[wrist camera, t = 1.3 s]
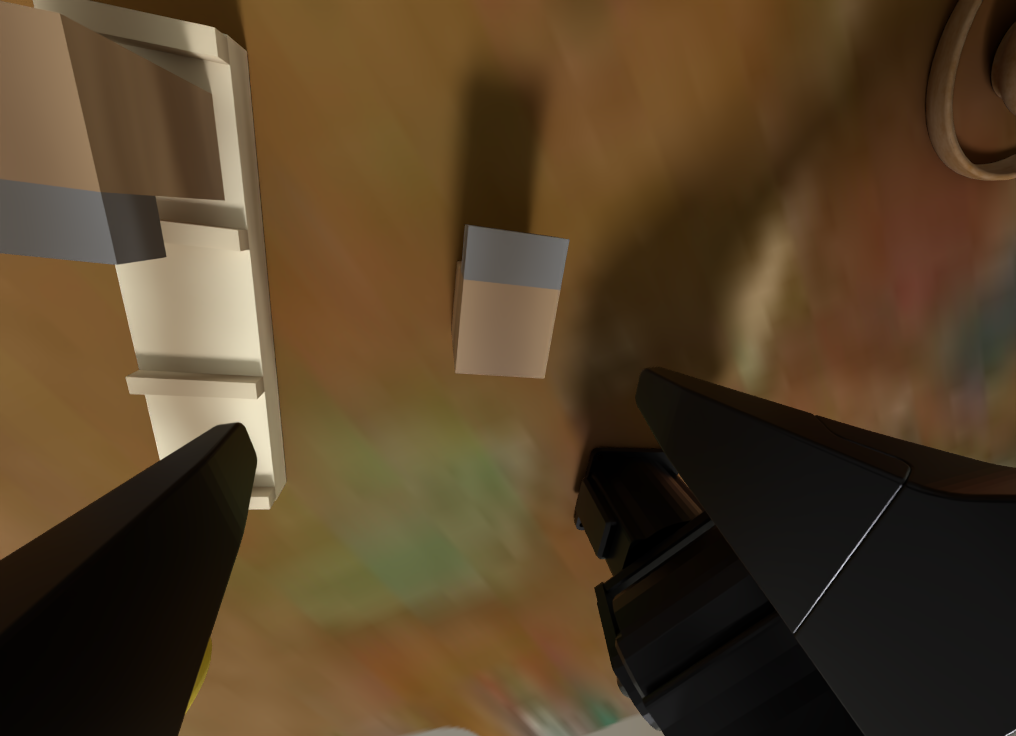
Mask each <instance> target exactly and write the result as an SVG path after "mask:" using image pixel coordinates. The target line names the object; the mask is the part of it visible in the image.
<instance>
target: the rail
mask: <svg viewBox="0 0 1016 736" xmlns="http://www.w3.org/2000/svg"><path fill="white" fill-rule="evenodd" d="M33 3H34V7H35V8H32V7H27V6H22V5H17V4H13V3H8V2H3V1H0V253H4V254H14V255H24V256H34V257H44V258H54V259H64V260H74V261H84V262H94V263H104V264H114V265H115V267H116V271H117V276H118V280H119V284H120V289H121V293H122V297H123V302H124V306H125V310H126V315H127V319H128V323H129V328H130V332H131V336H132V341H133V345H134V349H135V354H136V358H137V362H138V367H139V370H138V371H136V372H134V373H132V374H130V375H128V376H127V377H126V381H127V385H128V389H129V393H130V394H145V397H146V401H147V406H148V410H149V414H150V419H151V423H152V427H153V432H154V436H155V440H156V445H157V449H158V453H159V458H160V460H161V459H163V458H165V457H166V456H168V455H169V454H171V453H173V452H174V451H176V450H177V449H179V448H181V447H182V446H184V445H185V444H187V443H189V442H190V441H192V440H193V439H195V438H197V437H198V436H200V435H201V434H203V433H205V432H206V431H208V430H209V429H211V428H213V427H214V426H216V425H219V424H227V423H234V422H240V423H242V424H243V425H244V426H245V428H246V430H247V432H248V434H249V437H250V439H251V442H252V444H253V447H254V449H255V452H256V455H257V468H256V473H255V478H254V484H253V489H252V494H251V499H250V504H249V509H270V508H271V506H272V505H273V503H274V501H275V500H276V499H277V498H278V496H279V494H280V493H281V491H282V489H283V487H284V486H285V484H286V471H285V460H284V449H283V438H282V428H281V417H280V406H279V395H278V384H277V373H276V362H275V352H274V341H273V330H272V319H271V308H270V297H269V286H268V275H267V265H266V254H265V243H264V232H263V221H262V210H261V199H260V189H259V178H258V167H257V156H256V145H255V134H254V123H253V112H252V102H251V91H250V80H249V69H248V58H247V51H246V50H245V49H243V48H242V47H241V46H240V45H239V44H238V43H236V42H235V41H234V40H233V39H232V38H230V37H229V36H228V35H227V34H223V33H221V32H219V31H218V30H217V29H216V28H215V27H210V26H206V25H201V24H196V23H192V22H187V21H182V20H178V19H173V18H169V17H164V16H159V15H155V14H150V13H145V12H141V11H136V10H131V9H127V8H122V7H118V6H113V5H108V4H104V3H99V2H94V1H90V0H33Z"/></svg>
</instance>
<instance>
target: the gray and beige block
mask: <svg viewBox="0 0 1016 736" xmlns="http://www.w3.org/2000/svg"><path fill="white" fill-rule="evenodd" d="M568 245H569V239H563V238H558V237H552V236H545V235H538V234H531V233H523V232H516V231H509V230H502V229H495V228H488V227H481V226H473V225H466V224H465V231H464V243H463V254H462V261H457V268H456V280H455V292H454V304H453V316H452V328H451V331H452V342H453V353H454V364H455V373H462V374H479V375H495V376H512V377H529V378H544V377H545V371H546V366H547V360H548V355H549V349H550V344H551V338H552V333H553V327H554V322H555V316H556V311H557V305H558V300H559V294H560V289H561V283H562V278H563V272H564V267H565V261H566V256H567V250H568Z"/></svg>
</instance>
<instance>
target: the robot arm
mask: <svg viewBox="0 0 1016 736" xmlns="http://www.w3.org/2000/svg"><path fill="white" fill-rule="evenodd" d="M635 398H636V403H637V406H638V408H639V410H640V411H641V413H642V415H643V417H644V418H645V420H646V422H647V424H648V425H649V427H650V429H651V431H652V432H653V434H654V436H655V438H656V440H657V441H658V443H659V445H660V446H661V448H662V449H643V448H596V449H594V450H593V451H592V452H591V455H590V459H589V463H588V467H587V471H586V475H585V477H584V479H583V480H582V483H581V487H580V491H579V495H578V499H577V503H576V507H575V510H576V516H575V520H574V523H575V525H576V527H577V529H579V530H585V532H586V534H587V536H588V538H589V541H590V543H591V545H592V547H593V549H594V552H595V554H596V555H597V557H598V558H599V559H605V560H606V562H607V564H608V566H609V569H610V571H611V573H612V575H613V577H612V578H610V579H609V580H607V581H606V582H605V583H603V582H601V583H600V584H599V585H597V586H596V587H594V588H595V593H596V597H597V601H598V602H597V605H598V609H599V614H600V618H601V622H602V627H603V631H604V635H605V639H606V644H607V648H608V652H609V656H610V661H611V665H612V668H613V671H614V673H615V675H616V676H617V684H618V686H619V689H620V690H621V692H622V693H623V695H625V696H626V697H628V698H630V699H631V700H632V702H633V703H634V705H635V707H636V708H637V709H638V711H639V712H640V714H641V715H642V716H643V718H644V719H645V720H646V721H647V722H648V723H649V724H650V725H651V726H652V727H653V728H655V729H656V730H659V731H662V732H663V734H664V735H665V736H1016V468H1013V467H1007V466H1001V465H996V464H991V463H987V462H983V461H979V460H975V459H972V458H968V457H964V456H960V455H957V454H953V453H949V452H945V451H942V450H938V449H934V448H931V447H927V446H923V445H919V444H916V443H912V442H908V441H904V440H901V439H897V438H894V437H890V436H886V435H883V434H879V433H876V432H872V431H868V430H865V429H861V428H858V427H855V426H851V425H848V424H845V423H841V422H838V421H835V420H831V419H828V418H825V417H821V416H818V415H815V416H814V415H813V414H811V413H808V412H805V411H802V410H798V409H795V408H792V407H789V406H785V405H782V404H779V403H776V402H772V401H769V400H766V399H763V398H759V397H756V396H753V395H750V394H746V393H743V392H740V391H736V390H733V389H730V388H727V387H723V386H720V385H717V384H714V383H710V382H707V381H704V380H701V379H697V378H694V377H691V376H688V375H684V374H681V373H678V372H675V371H671V370H668V369H665V368H662V367H651V368H645V369H643V370H642V371H641V373H640V377H639V382H638V386H637V391H636V396H635ZM600 454H601V456H600V457H597V456H598V455H600ZM256 468H257V455H256V452H255V449H254V447H253V444H252V442H251V439H250V437H249V434H248V432H247V430H246V428H245V426H244V425H243V424H242V423H240V422H234V423H227V424H219V425H216V426H214V427H213V428H211V429H209V430H208V431H206V432H205V433H203V434H201V435H200V436H198V437H197V438H195V439H193V440H192V441H190V442H189V443H187V444H185V445H184V446H182V447H181V448H179V449H177V450H176V451H174V452H173V453H171V454H169V455H168V456H166V457H165V458H163V459H161V460H160V461H158V462H157V463H155V464H153V465H152V466H150V467H149V468H147V469H145V470H144V471H142V472H141V473H139V474H137V475H136V476H134V477H133V478H131V479H129V480H128V481H126V482H125V483H123V484H121V485H120V486H118V487H117V488H115V489H113V490H112V491H110V492H109V493H107V494H106V495H104V496H102V497H101V498H99V499H98V500H96V501H94V502H93V503H91V504H90V505H88V506H86V507H85V508H83V509H82V510H80V511H78V512H77V513H75V514H74V515H72V516H70V517H69V518H67V519H66V520H64V521H62V522H61V523H59V524H58V525H56V526H54V527H53V528H51V529H50V530H48V531H46V532H45V533H43V534H42V535H40V536H38V537H37V538H35V539H34V540H32V541H30V542H29V543H27V544H26V545H24V546H22V547H21V548H19V549H18V550H16V551H14V552H13V553H11V554H10V555H8V556H6V557H5V558H3V559H2V560H0V736H178V734H179V731H180V728H181V725H182V722H183V719H184V716H185V713H186V710H187V706H188V703H189V700H190V697H191V694H192V691H193V688H194V685H195V682H196V679H197V676H198V673H199V670H200V667H201V664H202V660H203V657H204V654H205V651H206V648H207V645H208V642H209V639H210V636H211V633H212V630H213V627H214V624H215V621H216V618H217V615H218V611H219V608H220V605H221V602H222V599H223V596H224V593H225V590H226V587H227V584H228V581H229V578H230V575H231V572H232V569H233V565H234V562H235V559H236V556H237V553H238V550H239V547H240V544H241V540H242V537H243V534H244V529H245V525H246V520H247V515H248V510H249V504H250V499H251V494H252V489H253V484H254V478H255V473H256ZM678 473H679V474H680V476H681V477H682V479H683V480H684V482H685V483H686V484H687V485H686V484H685V483H684V482H683V481H682V480H681V479H680V478H679V477H678V476H677V475H678ZM687 486H688V487H689V488H688V487H687Z"/></svg>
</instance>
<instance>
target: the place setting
mask: <svg viewBox="0 0 1016 736" xmlns="http://www.w3.org/2000/svg"><path fill="white" fill-rule="evenodd" d="M982 1H983V0H959V1H958V3H957V4H956V6H955V8H954V10H953V12H952V14H951V16H950V18H949V20H948V22H947V24H946V26H945V28H944V31H943V33H942V36H941V38H940V41H939V43H938V46H937V49H936V52H935V55H934V59H933V62H932V66H931V70H930V75H929V79H928V86H927V93H926V122H927V129H928V133H929V138H930V140H931V143H932V146H933V148H934V150H935V152H936V153H937V155H938V157H939V158H940V159H941V160H942V161H943V162H944V164H945V165H946V166H947V167H949V168H950V169H952V170H953V171H955V172H956V173H958V174H960V175H963V176H965V177H968V178H972V179H978V180H1008V179H1013V178H1016V154H1015V155H1013V156H1011V157H1008V158H1006V159H1004V160H1001V161H998V162H995V163H990V164H973V163H971V161H970V160H969V159H968V158H967V157H966V156H965V155H964V153H963V151H962V149H961V147H960V146H959V143H958V140H957V137H956V134H955V129H954V123H953V110H952V102H953V88H954V82H955V76H956V70H957V66H958V62H959V58H960V55H961V51H962V48H963V45H964V42H965V39H966V36H967V33H968V31H969V29H970V26H971V24H972V22H973V19H974V17H975V15H976V12H977V10H978V9H979V7H980V5H981V3H982ZM991 82H992V87H993V89H994V92H995V93H996V94H997V95H998V96H999V97H1000V98H1002V100H1003V102H1004V104H1005V105H1006V107H1007V108H1008V109H1009V111H1011V112H1012V113H1013V114H1014V115H1015V116H1016V21H1015V23H1014V24H1013V25H1012V26H1011V27H1010V29H1009V30H1008V31H1007V33H1006V34H1005V36H1004V37H1003V39H1002V41H1001V43H1000V45H999V47H998V49H997V51H996V54H995V57H994V61H993V65H992V71H991Z"/></svg>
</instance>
